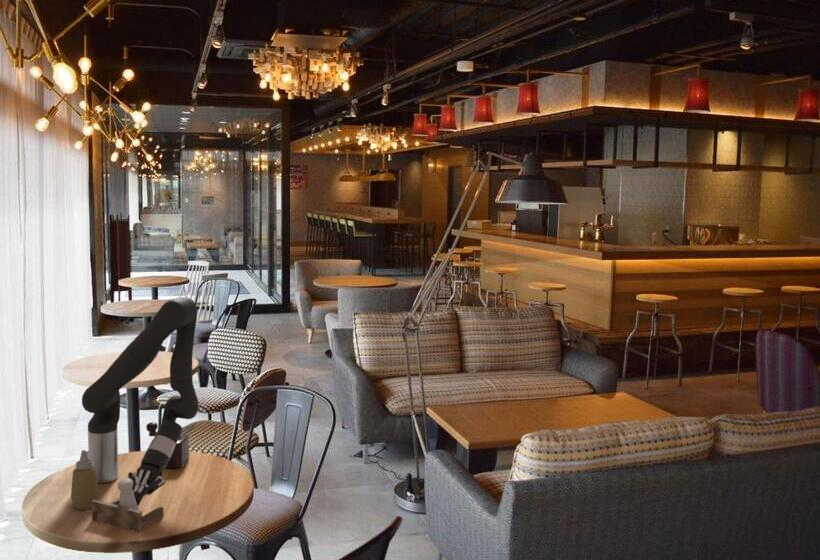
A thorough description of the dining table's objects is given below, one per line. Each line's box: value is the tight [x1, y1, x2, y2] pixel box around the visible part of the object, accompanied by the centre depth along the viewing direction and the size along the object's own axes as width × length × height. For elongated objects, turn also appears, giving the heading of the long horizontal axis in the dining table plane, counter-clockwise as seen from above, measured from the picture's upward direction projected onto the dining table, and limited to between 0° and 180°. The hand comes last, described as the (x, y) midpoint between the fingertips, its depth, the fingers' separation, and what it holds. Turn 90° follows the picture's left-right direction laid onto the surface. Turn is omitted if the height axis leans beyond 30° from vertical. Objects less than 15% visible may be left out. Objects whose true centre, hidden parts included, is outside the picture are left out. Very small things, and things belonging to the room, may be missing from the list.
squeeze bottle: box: [70, 449, 100, 511], centre depth 231 cm, size 8×8×18 cm
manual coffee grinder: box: [145, 421, 190, 470], centre depth 265 cm, size 16×11×18 cm
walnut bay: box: [91, 497, 164, 533], centre depth 225 cm, size 18×11×6 cm, turn 68°
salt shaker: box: [117, 477, 140, 511], centre depth 222 cm, size 6×6×13 cm
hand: (132, 505), depth 225 cm, fingers closed
